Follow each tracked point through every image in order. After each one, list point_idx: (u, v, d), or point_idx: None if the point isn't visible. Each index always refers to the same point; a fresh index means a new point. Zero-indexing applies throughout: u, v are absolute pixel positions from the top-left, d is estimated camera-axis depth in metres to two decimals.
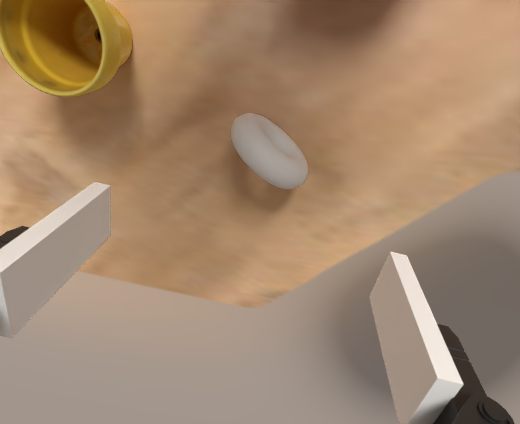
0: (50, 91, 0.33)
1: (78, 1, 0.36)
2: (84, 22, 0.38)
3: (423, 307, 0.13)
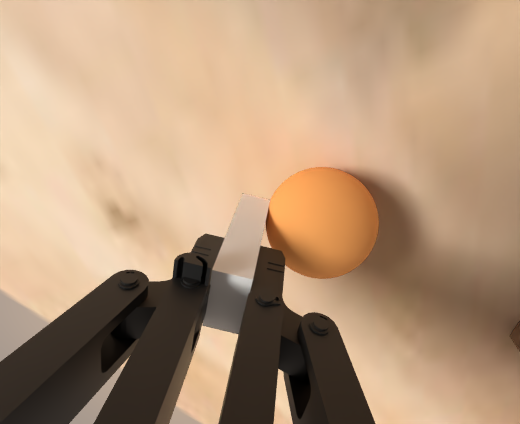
0: None
1: None
2: None
3: (257, 232, 0.15)
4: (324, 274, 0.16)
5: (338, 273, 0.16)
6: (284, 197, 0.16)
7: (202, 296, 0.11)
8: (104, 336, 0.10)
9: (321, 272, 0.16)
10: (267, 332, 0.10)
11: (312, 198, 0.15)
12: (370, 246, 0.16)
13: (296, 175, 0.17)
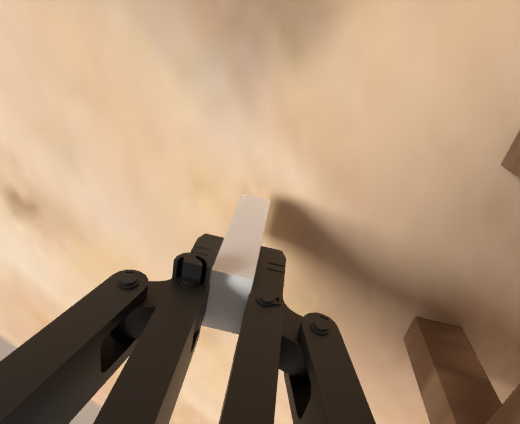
0: None
1: None
2: None
3: (258, 232, 0.15)
4: None
5: None
6: None
7: (202, 296, 0.11)
8: (104, 336, 0.10)
9: None
10: (268, 332, 0.10)
11: None
12: None
13: None
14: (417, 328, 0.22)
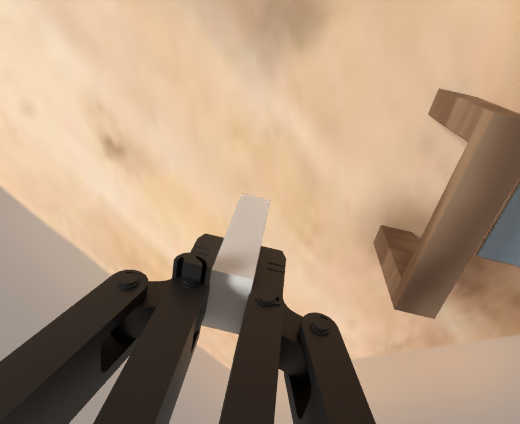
0: None
1: None
2: None
3: (258, 232, 0.15)
4: None
5: None
6: None
7: (202, 296, 0.11)
8: (104, 335, 0.10)
9: None
10: (268, 332, 0.10)
11: None
12: None
13: None
14: (381, 231, 0.33)
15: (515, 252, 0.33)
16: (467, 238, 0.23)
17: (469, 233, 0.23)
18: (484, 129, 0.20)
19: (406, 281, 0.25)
